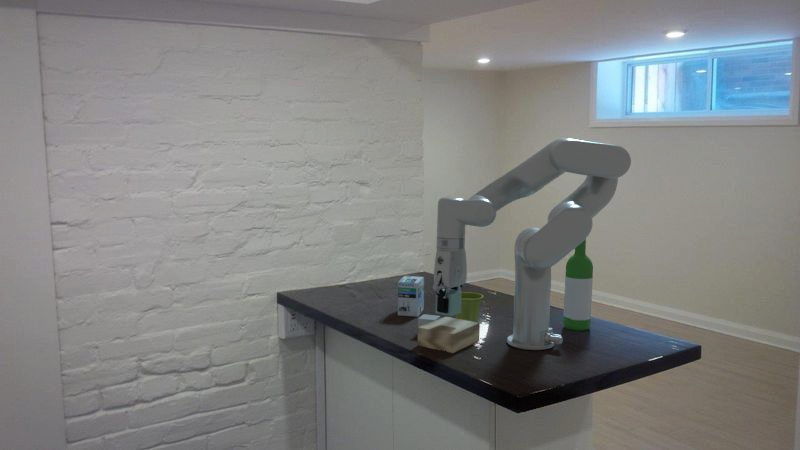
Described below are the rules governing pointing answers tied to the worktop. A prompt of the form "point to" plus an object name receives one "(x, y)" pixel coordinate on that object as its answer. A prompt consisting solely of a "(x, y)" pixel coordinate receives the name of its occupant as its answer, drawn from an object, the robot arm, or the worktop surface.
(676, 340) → the worktop surface
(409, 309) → the light bulb box
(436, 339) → the oak pedestal
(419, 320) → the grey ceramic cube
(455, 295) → the teal block
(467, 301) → the plant pot
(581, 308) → the wine bottle
